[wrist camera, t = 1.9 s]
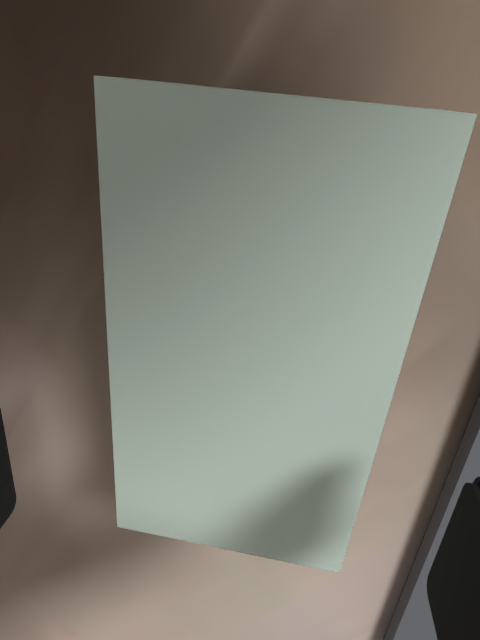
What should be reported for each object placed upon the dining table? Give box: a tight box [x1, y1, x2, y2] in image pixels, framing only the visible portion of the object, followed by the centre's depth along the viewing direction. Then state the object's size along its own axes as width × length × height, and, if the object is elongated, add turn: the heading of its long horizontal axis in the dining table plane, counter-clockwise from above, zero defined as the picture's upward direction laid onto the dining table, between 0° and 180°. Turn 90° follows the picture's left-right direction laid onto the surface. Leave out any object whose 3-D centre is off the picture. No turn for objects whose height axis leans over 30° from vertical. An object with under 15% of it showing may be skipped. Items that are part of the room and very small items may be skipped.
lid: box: [94, 75, 477, 573], centre depth 13 cm, size 13×7×3 cm, turn 175°
